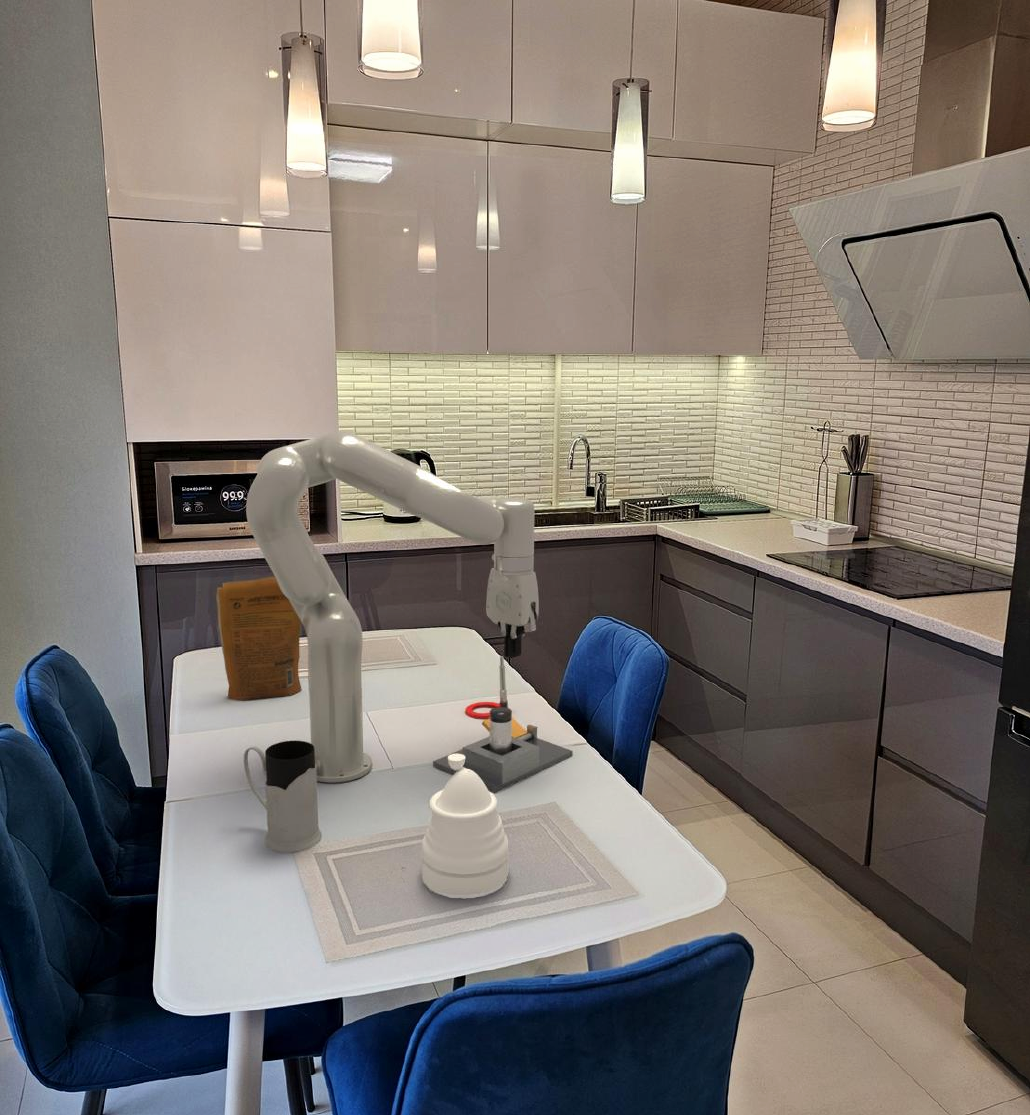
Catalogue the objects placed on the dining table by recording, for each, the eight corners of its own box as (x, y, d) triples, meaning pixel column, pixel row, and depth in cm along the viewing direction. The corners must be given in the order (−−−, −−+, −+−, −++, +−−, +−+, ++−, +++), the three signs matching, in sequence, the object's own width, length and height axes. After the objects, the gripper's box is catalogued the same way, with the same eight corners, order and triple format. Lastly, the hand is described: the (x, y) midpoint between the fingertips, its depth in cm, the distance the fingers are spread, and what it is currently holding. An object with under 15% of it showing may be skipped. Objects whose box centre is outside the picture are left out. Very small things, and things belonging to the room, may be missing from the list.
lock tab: (506, 746, 175) (482, 721, 179) (504, 750, 176) (480, 724, 179) (532, 735, 181) (508, 711, 184) (530, 739, 181) (506, 714, 185)
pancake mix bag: (310, 696, 206) (305, 576, 200) (222, 705, 200) (215, 582, 194) (306, 687, 212) (302, 570, 206) (221, 695, 206) (214, 575, 200)
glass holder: (295, 858, 138) (291, 766, 135) (228, 834, 145) (223, 746, 142) (333, 833, 145) (330, 746, 142) (267, 812, 152) (263, 728, 149)
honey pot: (404, 873, 134) (402, 760, 131) (468, 843, 143) (469, 736, 139) (461, 910, 125) (461, 790, 122) (526, 875, 134) (528, 762, 130)
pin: (500, 773, 165) (501, 717, 163) (485, 767, 168) (485, 711, 166) (515, 767, 168) (516, 711, 166) (499, 760, 171) (500, 705, 169)
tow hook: (463, 720, 194) (506, 720, 194) (460, 663, 192) (504, 662, 191) (467, 706, 202) (508, 706, 202) (464, 651, 200) (506, 650, 199)
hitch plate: (494, 793, 160) (494, 766, 159) (433, 766, 170) (432, 741, 169) (572, 755, 176) (573, 731, 175) (511, 733, 186) (512, 710, 185)
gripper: (471, 560, 174) (471, 652, 177) (530, 572, 164) (528, 669, 168) (498, 555, 179) (498, 643, 183) (556, 566, 169) (554, 660, 173)
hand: (512, 655), depth 175 cm, fingers closed
